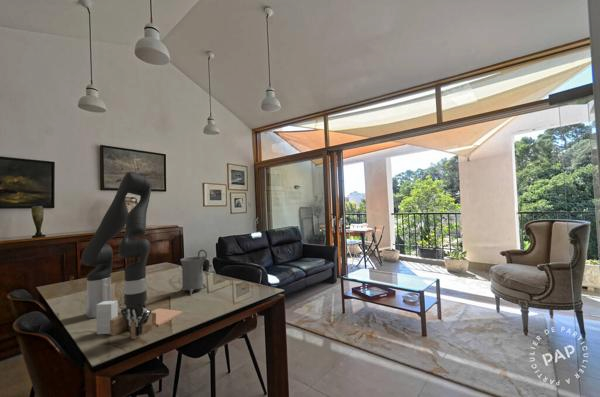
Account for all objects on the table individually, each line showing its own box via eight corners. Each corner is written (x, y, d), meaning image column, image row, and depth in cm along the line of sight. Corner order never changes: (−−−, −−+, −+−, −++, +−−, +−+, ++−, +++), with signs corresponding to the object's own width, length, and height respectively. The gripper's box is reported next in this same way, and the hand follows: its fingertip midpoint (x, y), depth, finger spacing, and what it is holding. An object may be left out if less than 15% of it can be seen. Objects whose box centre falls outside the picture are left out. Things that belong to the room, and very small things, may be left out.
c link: (132, 324, 114) (132, 310, 115) (156, 327, 110) (155, 313, 111) (110, 335, 105) (109, 319, 105) (134, 339, 101) (134, 323, 101)
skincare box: (118, 329, 110) (118, 300, 110) (111, 334, 106) (111, 304, 106) (103, 329, 110) (103, 300, 110) (96, 334, 106) (95, 304, 106)
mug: (172, 294, 153) (171, 251, 154) (189, 286, 168) (188, 247, 168) (199, 296, 148) (198, 251, 149) (215, 288, 162) (214, 247, 163)
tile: (132, 322, 116) (132, 320, 116) (158, 310, 130) (158, 308, 130) (158, 326, 112) (158, 324, 112) (182, 312, 125) (182, 311, 125)
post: (126, 330, 109) (126, 315, 109) (132, 327, 111) (131, 313, 111) (131, 330, 108) (130, 316, 108) (136, 328, 110) (136, 313, 110)
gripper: (157, 288, 105) (157, 332, 104) (131, 286, 109) (131, 328, 108) (140, 294, 97) (141, 342, 97) (113, 292, 102) (113, 337, 101)
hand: (136, 334), depth 103 cm, fingers closed on c link
